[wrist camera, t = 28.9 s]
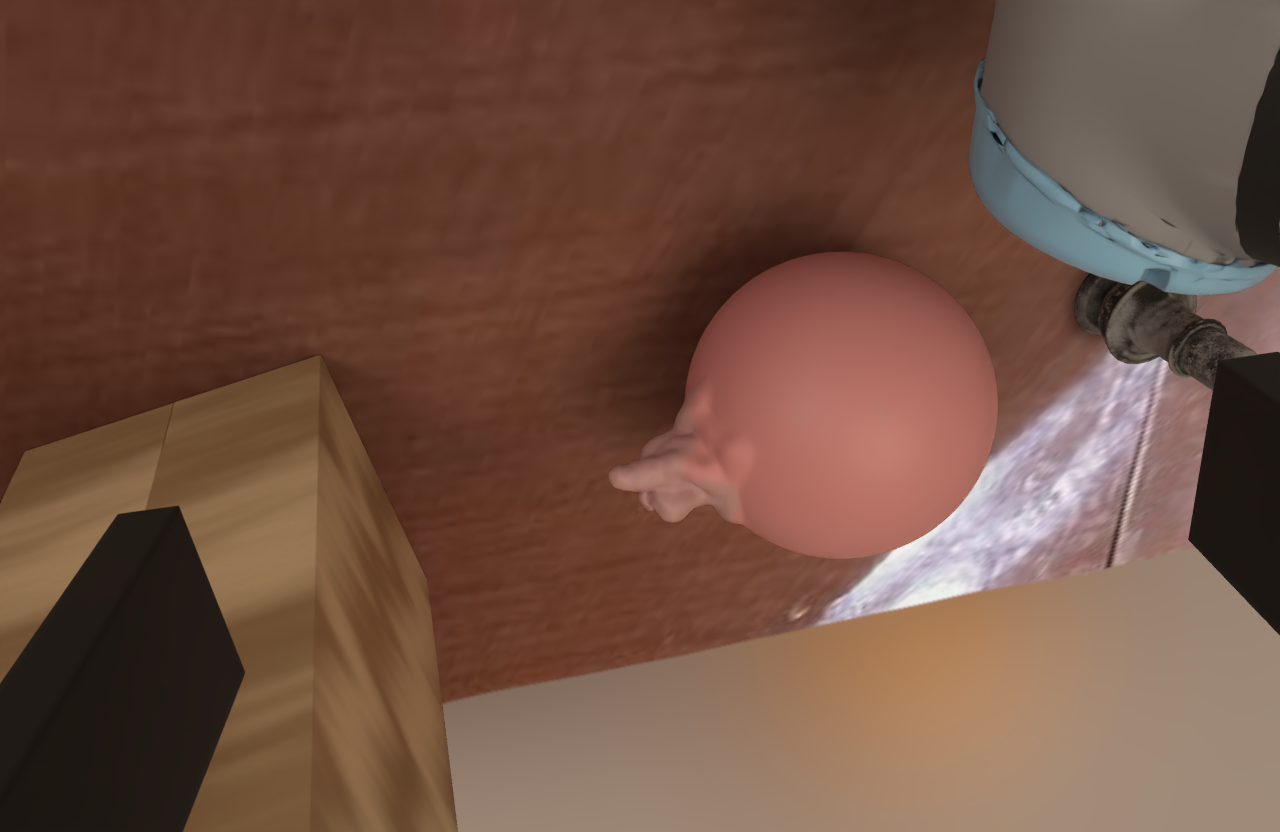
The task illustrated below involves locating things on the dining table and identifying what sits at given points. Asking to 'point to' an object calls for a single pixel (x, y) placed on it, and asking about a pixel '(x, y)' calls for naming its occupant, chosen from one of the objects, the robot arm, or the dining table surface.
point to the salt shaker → (1155, 327)
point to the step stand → (264, 596)
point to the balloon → (828, 410)
